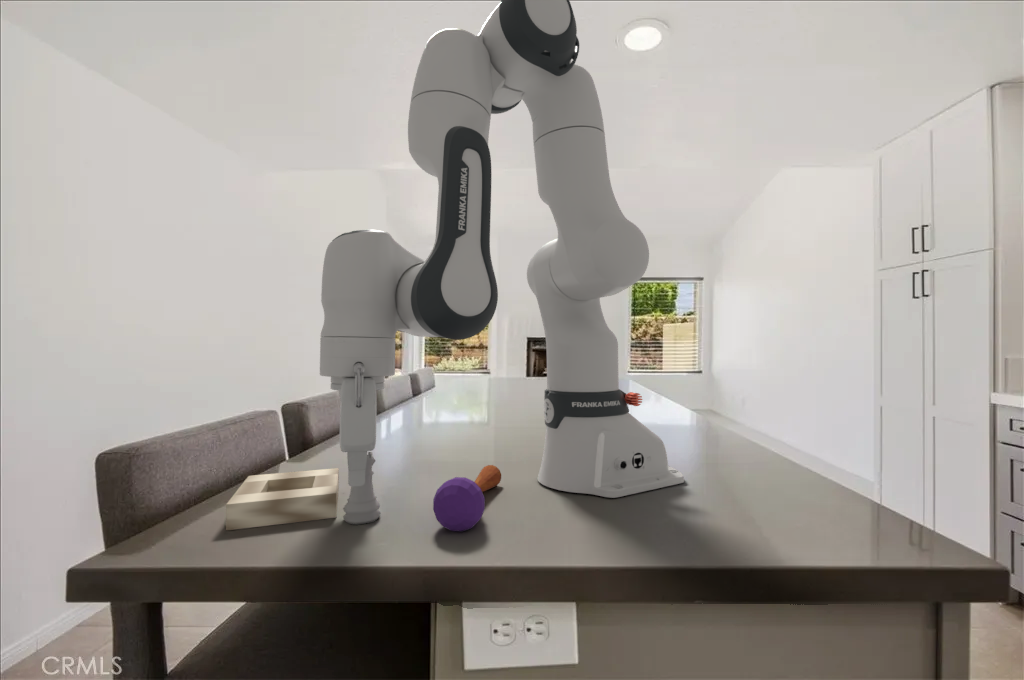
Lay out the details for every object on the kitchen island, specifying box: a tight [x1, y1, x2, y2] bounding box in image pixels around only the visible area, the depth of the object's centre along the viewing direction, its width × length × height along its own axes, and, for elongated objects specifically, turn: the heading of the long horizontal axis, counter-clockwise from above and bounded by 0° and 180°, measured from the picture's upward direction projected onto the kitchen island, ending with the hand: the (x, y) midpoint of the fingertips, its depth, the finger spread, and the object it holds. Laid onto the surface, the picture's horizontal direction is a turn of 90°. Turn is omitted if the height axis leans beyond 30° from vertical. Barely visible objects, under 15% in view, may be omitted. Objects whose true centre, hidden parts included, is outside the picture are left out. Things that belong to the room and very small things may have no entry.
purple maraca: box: [432, 464, 502, 532], centre depth 62 cm, size 6×6×20 cm
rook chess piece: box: [342, 451, 382, 525], centre depth 58 cm, size 4×4×8 cm
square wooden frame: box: [225, 467, 340, 531], centre depth 63 cm, size 12×13×3 cm
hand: (356, 474), depth 58 cm, fingers open, 8 cm apart
